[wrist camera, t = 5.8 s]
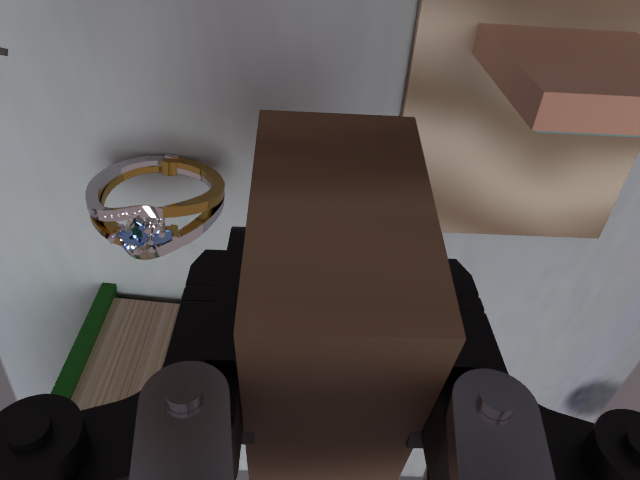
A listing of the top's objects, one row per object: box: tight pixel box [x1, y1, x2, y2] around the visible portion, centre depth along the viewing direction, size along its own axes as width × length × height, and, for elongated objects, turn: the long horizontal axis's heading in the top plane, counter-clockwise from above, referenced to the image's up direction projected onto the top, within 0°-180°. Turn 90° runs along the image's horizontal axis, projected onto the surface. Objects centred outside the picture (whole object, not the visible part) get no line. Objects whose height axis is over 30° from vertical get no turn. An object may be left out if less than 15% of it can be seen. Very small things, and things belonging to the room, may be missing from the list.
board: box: [401, 0, 640, 238], centre depth 29 cm, size 16×14×1 cm
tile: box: [472, 23, 640, 137], centre depth 23 cm, size 2×8×9 cm, turn 87°
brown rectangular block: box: [233, 110, 466, 480], centre depth 12 cm, size 10×6×5 cm, turn 177°
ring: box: [85, 154, 225, 260], centre depth 28 cm, size 7×3×8 cm, turn 82°
